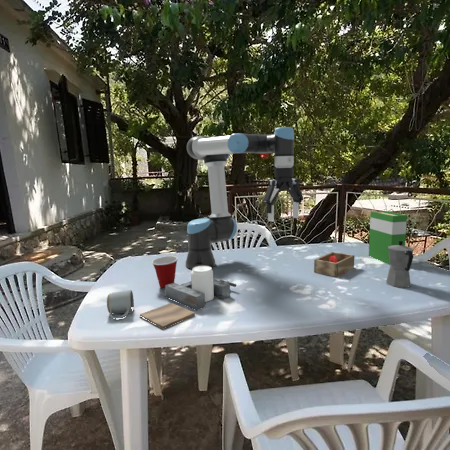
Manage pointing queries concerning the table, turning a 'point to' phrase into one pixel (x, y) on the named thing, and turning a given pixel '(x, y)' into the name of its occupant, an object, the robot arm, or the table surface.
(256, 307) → the table surface
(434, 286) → the table surface
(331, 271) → the crate frame
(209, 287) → the beverage can
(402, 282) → the coffeepot
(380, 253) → the green cereal box
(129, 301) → the ceramic mug
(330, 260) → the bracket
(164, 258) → the plastic cup
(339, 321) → the table surface
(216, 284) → the c-clamp
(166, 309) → the pad
